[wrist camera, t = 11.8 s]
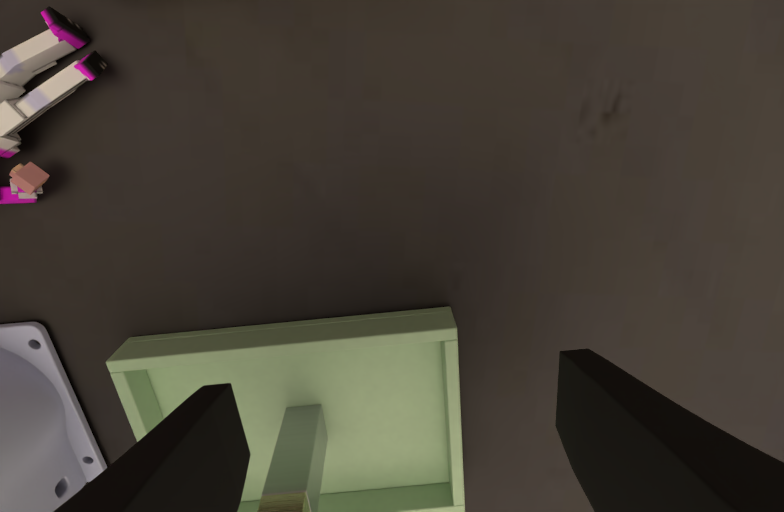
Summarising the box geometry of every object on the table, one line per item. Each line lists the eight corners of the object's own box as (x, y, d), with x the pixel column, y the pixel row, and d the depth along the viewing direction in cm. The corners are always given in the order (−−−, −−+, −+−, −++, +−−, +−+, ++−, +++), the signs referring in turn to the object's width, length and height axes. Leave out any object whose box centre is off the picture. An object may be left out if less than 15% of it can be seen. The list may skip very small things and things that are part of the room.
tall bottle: (328, 437, 23) (296, 665, 14) (293, 441, 23) (239, 671, 14) (321, 403, 22) (283, 622, 13) (285, 407, 22) (223, 628, 13)
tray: (458, 481, 25) (465, 513, 23) (191, 506, 25) (175, 540, 23) (450, 305, 21) (457, 328, 19) (129, 336, 21) (104, 361, 19)
